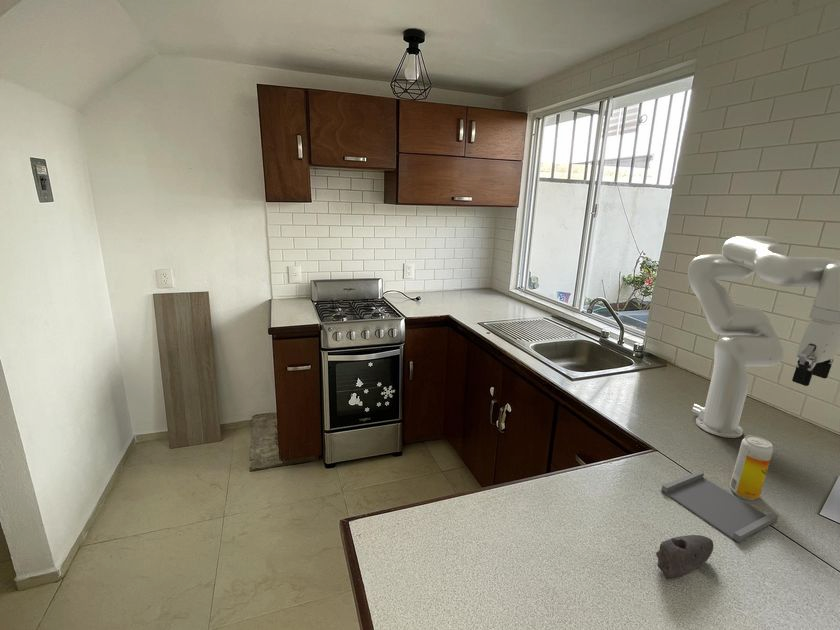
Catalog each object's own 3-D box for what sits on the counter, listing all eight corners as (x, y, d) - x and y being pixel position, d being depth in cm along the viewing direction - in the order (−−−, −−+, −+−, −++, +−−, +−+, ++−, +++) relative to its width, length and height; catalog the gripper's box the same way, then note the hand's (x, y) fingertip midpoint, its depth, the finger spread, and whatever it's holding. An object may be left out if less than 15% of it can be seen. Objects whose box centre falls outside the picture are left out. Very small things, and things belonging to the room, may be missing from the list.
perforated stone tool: (697, 547, 89) (704, 520, 87) (721, 567, 84) (729, 539, 82) (644, 567, 84) (650, 539, 82) (667, 589, 79) (674, 560, 77)
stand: (661, 491, 106) (662, 485, 105) (698, 475, 112) (699, 470, 112) (738, 543, 90) (740, 536, 90) (776, 522, 97) (778, 515, 96)
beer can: (765, 501, 103) (781, 448, 99) (740, 501, 103) (755, 448, 99) (747, 485, 109) (761, 434, 105) (723, 484, 109) (737, 434, 105)
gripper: (827, 307, 107) (807, 368, 112) (794, 315, 99) (774, 380, 105) (867, 315, 101) (844, 379, 106) (835, 324, 93) (811, 393, 98)
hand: (809, 379), depth 105 cm, fingers open, 9 cm apart
